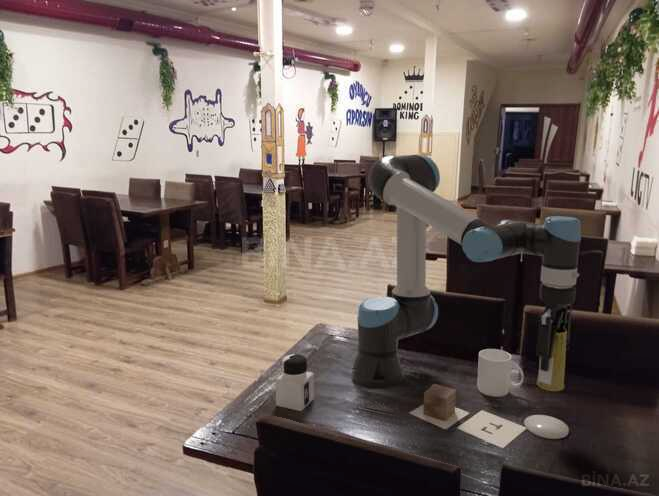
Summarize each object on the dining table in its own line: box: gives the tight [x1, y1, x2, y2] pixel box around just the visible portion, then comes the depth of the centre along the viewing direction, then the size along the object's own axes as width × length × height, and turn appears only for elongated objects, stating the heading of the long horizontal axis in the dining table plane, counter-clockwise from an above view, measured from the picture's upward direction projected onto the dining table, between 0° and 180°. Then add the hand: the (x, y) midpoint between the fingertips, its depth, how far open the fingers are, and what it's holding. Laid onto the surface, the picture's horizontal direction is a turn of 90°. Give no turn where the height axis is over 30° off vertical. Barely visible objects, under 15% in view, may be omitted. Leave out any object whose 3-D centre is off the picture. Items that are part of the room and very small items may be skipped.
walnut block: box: [423, 383, 457, 421], centre depth 131 cm, size 6×6×6 cm
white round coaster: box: [523, 414, 570, 440], centre depth 125 cm, size 10×10×1 cm
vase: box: [536, 328, 567, 392], centre depth 122 cm, size 6×6×14 cm
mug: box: [476, 348, 525, 398], centre depth 142 cm, size 9×12×11 cm
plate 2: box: [456, 410, 527, 449], centre depth 125 cm, size 12×12×1 cm
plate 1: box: [409, 403, 470, 430], centre depth 132 cm, size 11×11×1 cm
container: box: [275, 353, 315, 412], centre depth 137 cm, size 8×8×13 cm
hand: (550, 377), depth 123 cm, fingers closed on vase, 6 cm apart
